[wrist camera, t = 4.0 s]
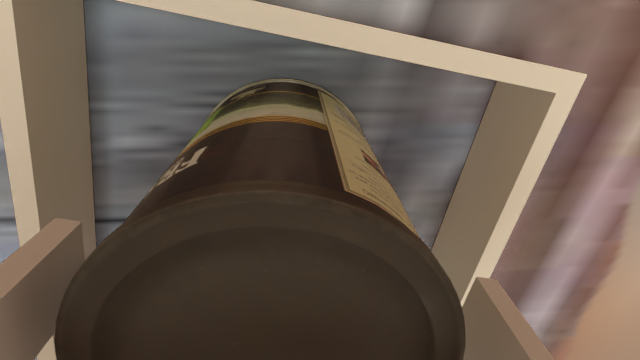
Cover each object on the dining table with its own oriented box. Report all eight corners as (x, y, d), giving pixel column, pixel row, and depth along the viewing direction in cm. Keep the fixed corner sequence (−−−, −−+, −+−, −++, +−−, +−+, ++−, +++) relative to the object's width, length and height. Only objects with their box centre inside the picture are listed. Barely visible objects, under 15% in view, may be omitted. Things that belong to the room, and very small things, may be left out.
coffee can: (173, 201, 23) (14, 444, 10) (236, 43, 19) (117, 103, 6) (320, 258, 25) (346, 513, 12) (400, 127, 22) (553, 294, 9)
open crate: (407, 345, 29) (427, 406, 25) (84, 313, 26) (40, 376, 21) (522, 60, 20) (587, 74, 16) (58, -43, 17) (-27, -62, 13)
